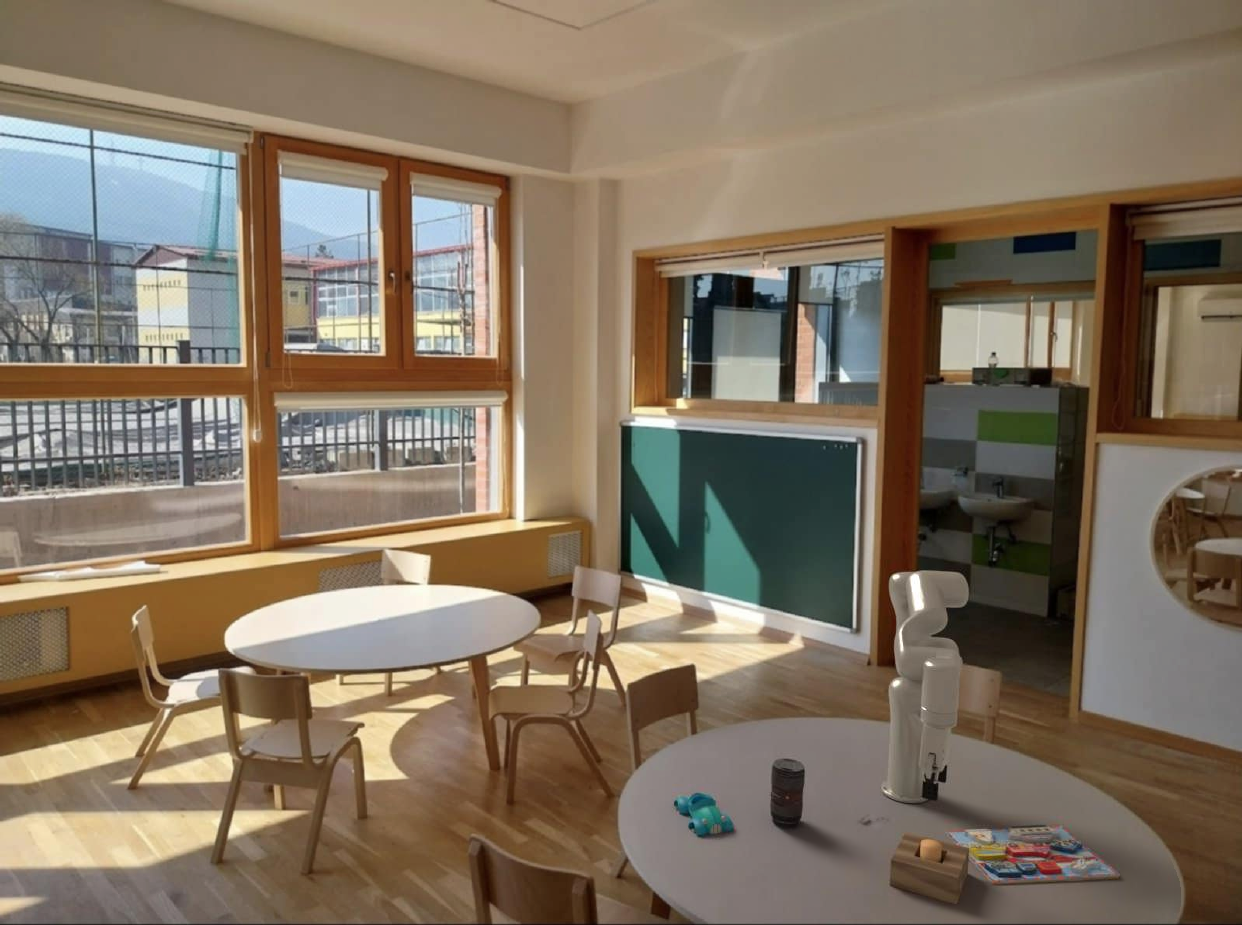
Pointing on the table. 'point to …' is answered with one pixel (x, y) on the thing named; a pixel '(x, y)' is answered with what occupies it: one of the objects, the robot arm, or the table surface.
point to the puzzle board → (1031, 855)
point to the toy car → (703, 814)
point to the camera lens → (787, 792)
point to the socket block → (929, 869)
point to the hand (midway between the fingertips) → (934, 789)
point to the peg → (931, 850)
